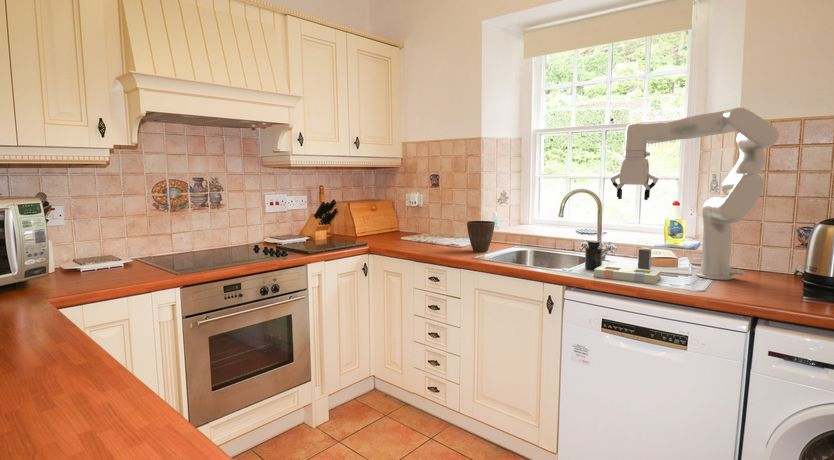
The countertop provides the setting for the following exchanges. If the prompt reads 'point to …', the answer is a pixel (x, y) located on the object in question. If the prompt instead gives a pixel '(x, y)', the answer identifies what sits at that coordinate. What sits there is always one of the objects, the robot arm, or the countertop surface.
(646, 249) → the dark grey tall block
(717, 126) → the robot arm
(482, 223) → the plant pot
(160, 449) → the countertop surface
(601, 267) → the socket board
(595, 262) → the supplement bottle
